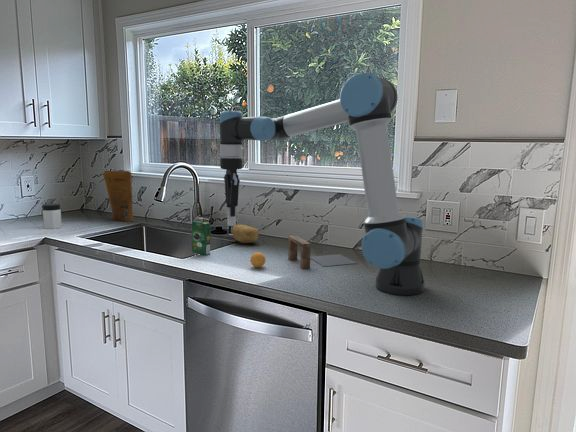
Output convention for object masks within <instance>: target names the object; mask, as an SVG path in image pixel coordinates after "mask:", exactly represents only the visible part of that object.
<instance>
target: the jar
mask: <svg viewBox="0 0 576 432" xmlns="http://www.w3.org/2000/svg"><path fill="white" fill-rule="evenodd" d="M41 210H42V211H41V212H42V222H43V229H44V230H55V229H60V228H62V227H63V225H62V212H61V211H62V210H61V204H60V203H57V202H56V203H54V202H53V203H51V202H50V203H43V204H42V205H41Z"/></svg>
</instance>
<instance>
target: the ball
mask: <svg viewBox="0 0 576 432" xmlns="http://www.w3.org/2000/svg"><path fill="white" fill-rule="evenodd" d="M266 259H267V258H266V256H265V254H263V253H262V252H259V251H258V252H254V253H252V255H251V256H250V265H252V266H253V267H254V268H261V267H263V266H264V265H265V264H266Z"/></svg>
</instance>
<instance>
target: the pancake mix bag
mask: <svg viewBox="0 0 576 432" xmlns="http://www.w3.org/2000/svg"><path fill="white" fill-rule="evenodd" d="M102 177H103V180H104V184H105V188H106V191H107V196H108V200H109V206H110V209H111V213H112V214H111V215H112V216H111V220H112V221H120V222H125V223H126V222H129V223H130V222H134V216H133V188H132V184H133V183H132V181H133V180H132V172H131V171H127V170H113V171H112V170H104V172H102Z"/></svg>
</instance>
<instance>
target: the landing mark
mask: <svg viewBox="0 0 576 432" xmlns="http://www.w3.org/2000/svg"><path fill="white" fill-rule="evenodd" d="M310 260H312V261H314V263H317V264H319V265H320V266H322V267H325V268H326V267H335V266H345V265H346V266H347V265H355V264H356V265H357V264H358V262H356V261H354V260H352V259H351V258H348V257H346V256H344V255H342V254H341V253H338V254H328V255H326V254H324V255H317V256H310Z"/></svg>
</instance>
